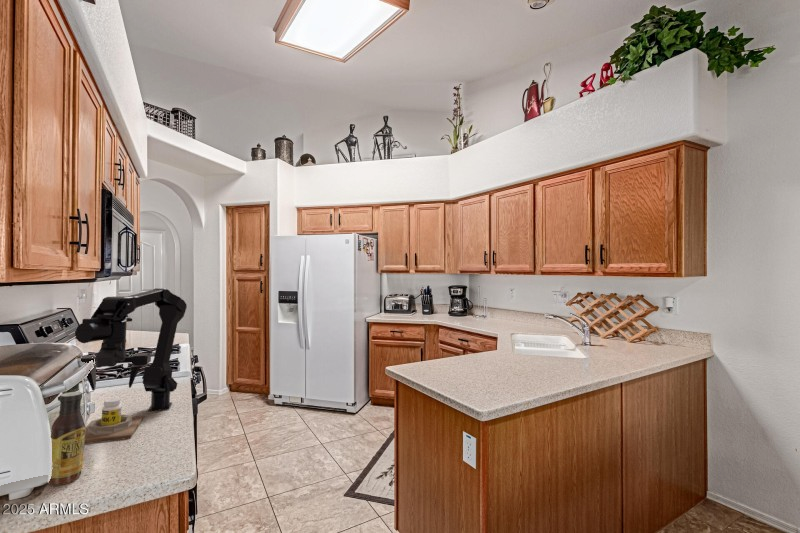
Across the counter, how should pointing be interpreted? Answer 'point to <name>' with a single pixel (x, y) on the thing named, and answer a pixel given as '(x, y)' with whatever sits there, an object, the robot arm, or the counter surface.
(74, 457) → the sauce bottle
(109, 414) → the supplement bottle
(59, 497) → the counter surface
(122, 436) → the brown board with ring
